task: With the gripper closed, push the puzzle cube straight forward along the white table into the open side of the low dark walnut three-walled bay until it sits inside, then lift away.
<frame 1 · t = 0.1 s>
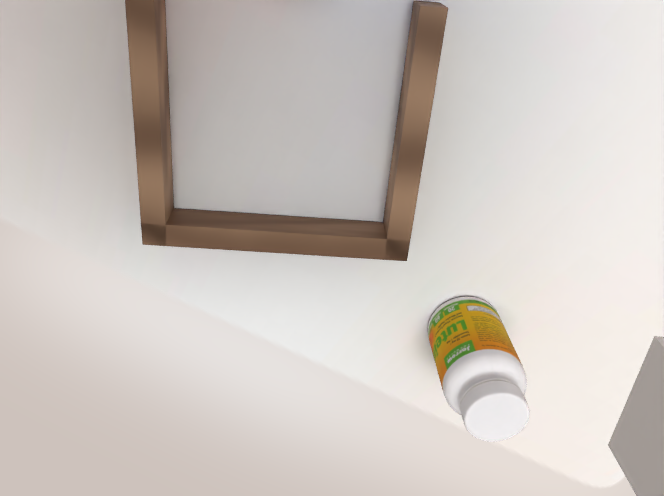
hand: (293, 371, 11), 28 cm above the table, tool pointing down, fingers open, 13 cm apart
supplement bottle: (462, 323, 45), on the table
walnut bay: (284, 112, 37), on the table
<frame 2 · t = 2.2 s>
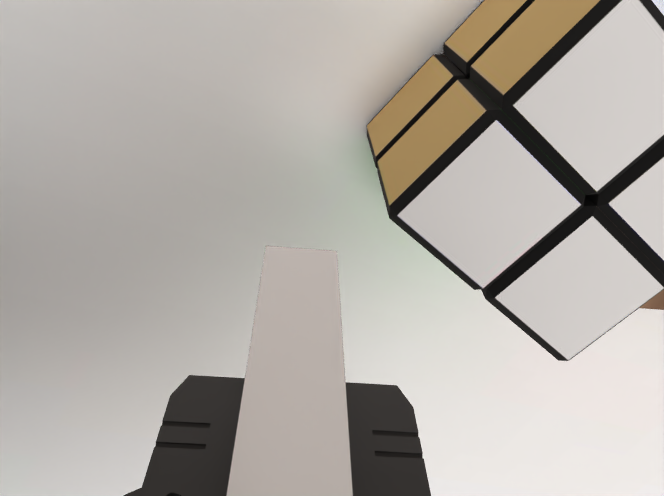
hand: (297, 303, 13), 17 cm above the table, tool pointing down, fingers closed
puzzle cube: (507, 118, 29), on the table
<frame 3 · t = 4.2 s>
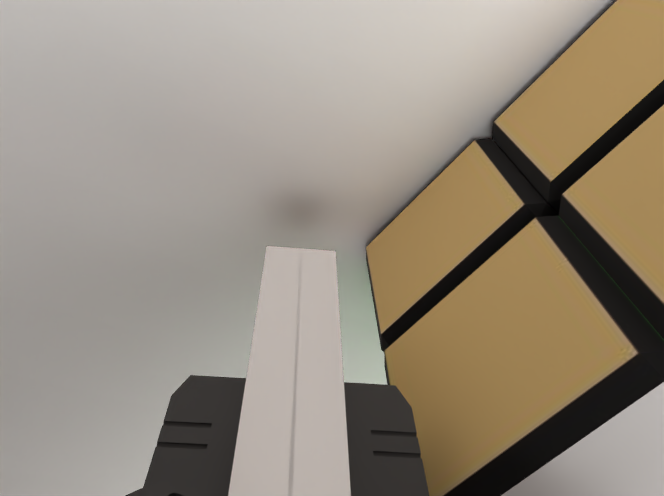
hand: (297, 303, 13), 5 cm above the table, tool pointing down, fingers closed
puzzle cube: (588, 229, 18), on the table, touching gripper
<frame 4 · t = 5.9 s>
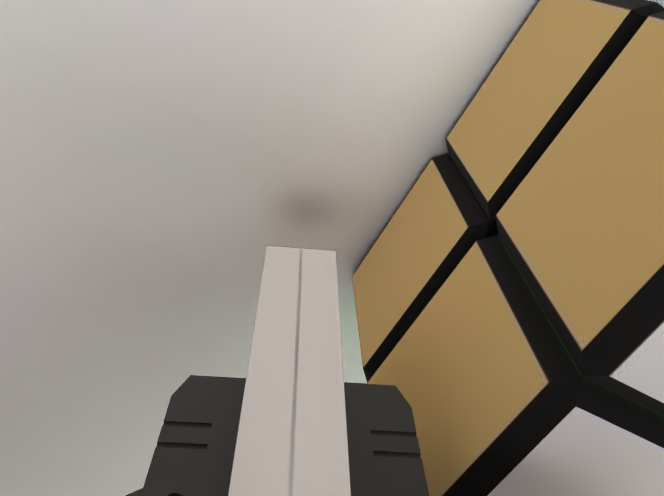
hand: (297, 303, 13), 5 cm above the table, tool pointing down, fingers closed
puzzle cube: (570, 219, 18), on the table, touching gripper
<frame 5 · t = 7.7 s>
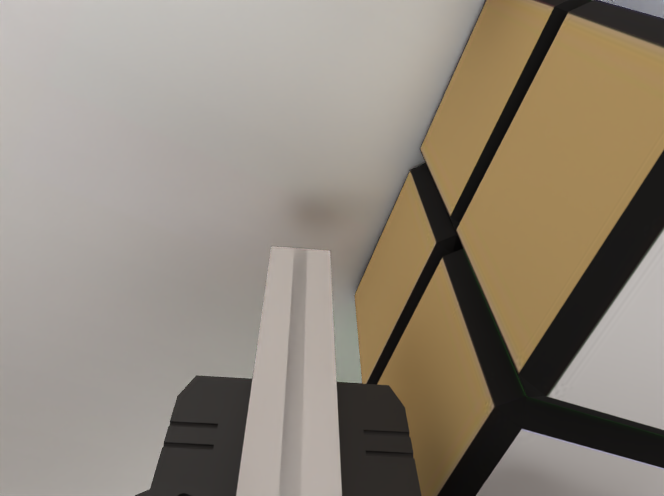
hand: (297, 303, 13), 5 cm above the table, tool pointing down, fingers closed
puzzle cube: (566, 206, 18), on the table, touching gripper, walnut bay
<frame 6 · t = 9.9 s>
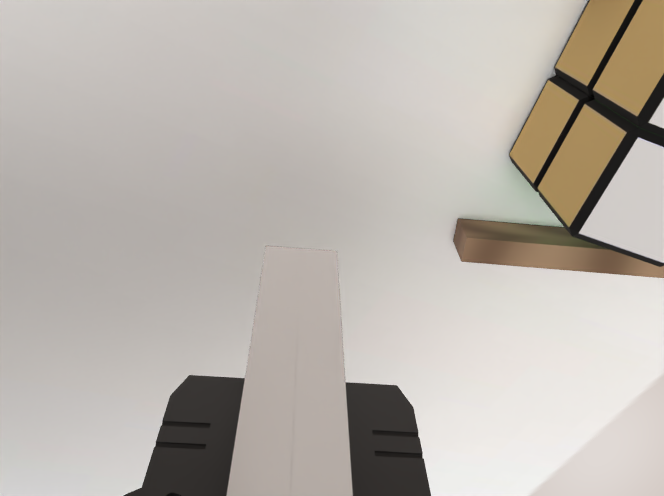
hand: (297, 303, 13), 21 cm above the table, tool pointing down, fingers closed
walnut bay: (610, 112, 32), on the table
puzzle cube: (629, 103, 33), on the table
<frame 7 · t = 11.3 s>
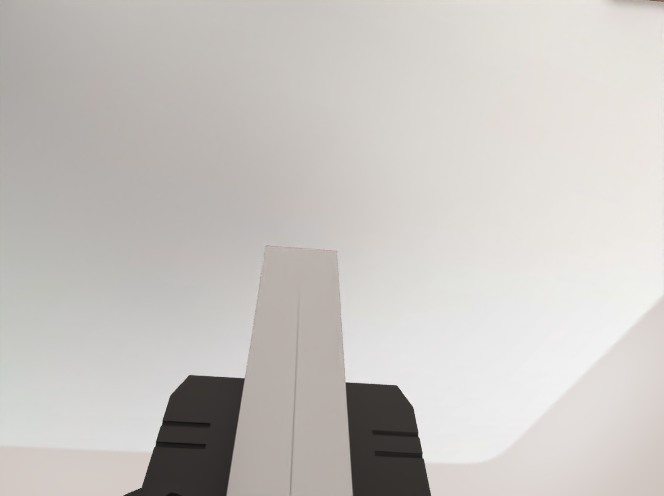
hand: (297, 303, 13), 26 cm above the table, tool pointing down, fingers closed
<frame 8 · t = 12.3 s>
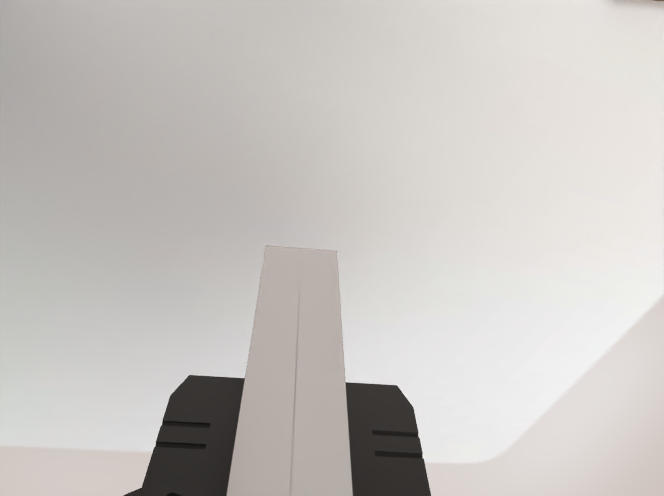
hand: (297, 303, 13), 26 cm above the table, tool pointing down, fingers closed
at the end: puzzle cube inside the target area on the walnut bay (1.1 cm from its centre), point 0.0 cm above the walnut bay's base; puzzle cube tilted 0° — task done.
